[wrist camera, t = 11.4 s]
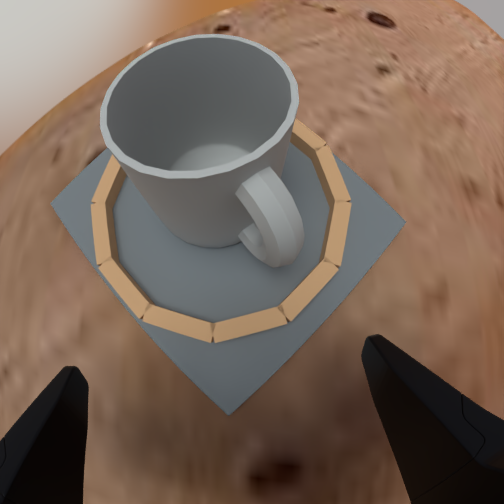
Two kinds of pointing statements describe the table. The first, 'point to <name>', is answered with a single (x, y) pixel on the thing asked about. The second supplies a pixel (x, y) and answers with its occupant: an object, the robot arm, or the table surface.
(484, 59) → the table surface
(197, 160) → the cup
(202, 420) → the table surface
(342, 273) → the collar mat
